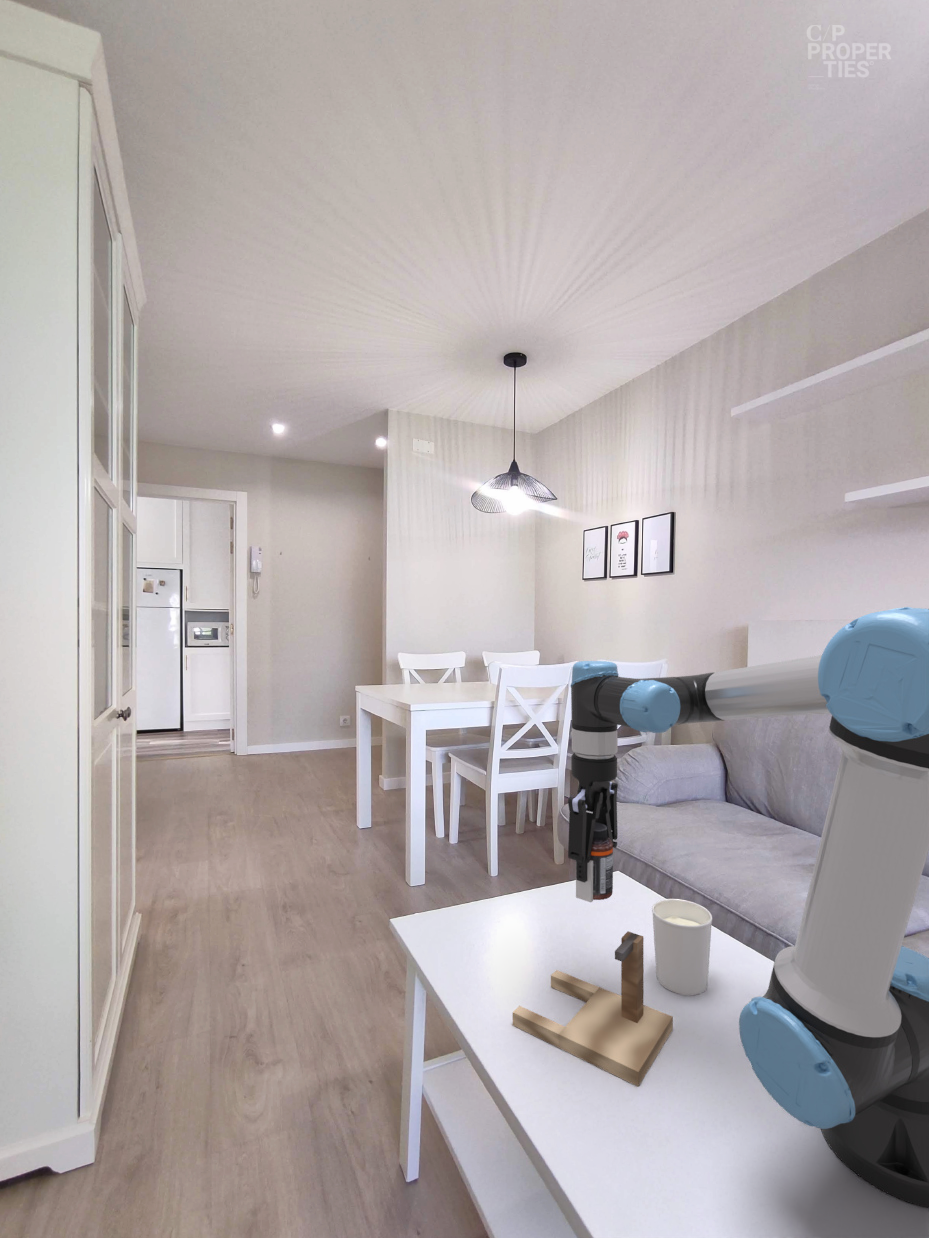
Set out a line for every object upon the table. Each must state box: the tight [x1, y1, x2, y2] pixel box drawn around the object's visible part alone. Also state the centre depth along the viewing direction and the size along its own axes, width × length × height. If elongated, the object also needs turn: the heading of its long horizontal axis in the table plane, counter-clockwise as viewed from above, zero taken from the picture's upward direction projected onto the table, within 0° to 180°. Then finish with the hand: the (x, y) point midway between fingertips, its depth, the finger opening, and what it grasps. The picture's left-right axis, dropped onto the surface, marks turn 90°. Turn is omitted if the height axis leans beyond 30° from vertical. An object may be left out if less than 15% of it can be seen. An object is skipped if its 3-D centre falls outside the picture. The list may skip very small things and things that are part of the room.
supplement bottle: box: [590, 822, 614, 901], centre depth 100 cm, size 6×6×11 cm
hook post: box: [614, 931, 644, 1023], centre depth 90 cm, size 2×6×12 cm, turn 143°
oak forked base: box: [512, 969, 674, 1087], centre depth 92 cm, size 20×14×2 cm
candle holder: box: [651, 898, 713, 996], centre depth 104 cm, size 10×10×12 cm
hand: (593, 891), depth 100 cm, fingers closed on supplement bottle, 6 cm apart
